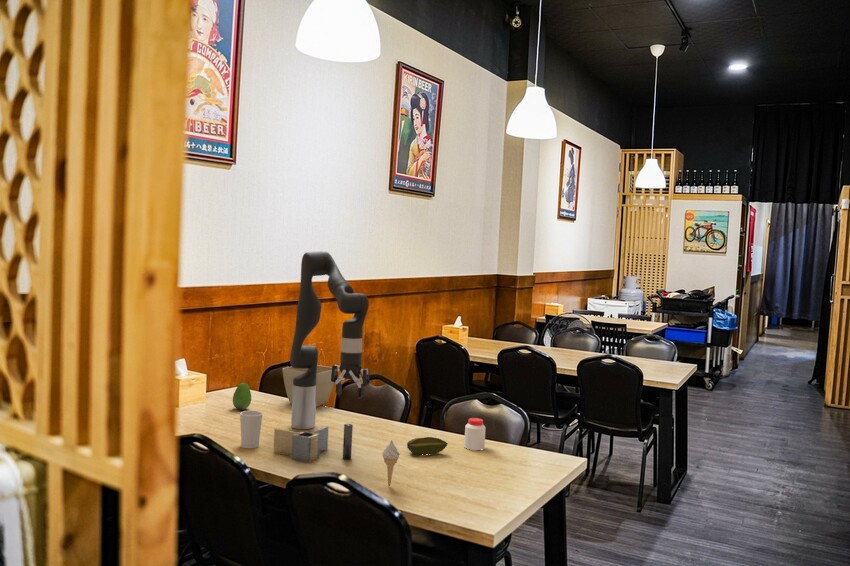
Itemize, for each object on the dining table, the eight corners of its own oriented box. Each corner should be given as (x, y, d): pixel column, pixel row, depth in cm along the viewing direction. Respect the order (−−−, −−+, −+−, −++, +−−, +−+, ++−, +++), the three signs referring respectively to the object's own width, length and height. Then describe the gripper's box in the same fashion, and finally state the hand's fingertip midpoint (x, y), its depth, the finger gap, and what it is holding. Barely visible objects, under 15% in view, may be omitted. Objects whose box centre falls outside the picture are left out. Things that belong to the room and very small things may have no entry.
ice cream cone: (380, 483, 223) (382, 436, 223) (397, 483, 224) (400, 437, 223) (380, 489, 218) (383, 441, 217) (398, 489, 218) (401, 442, 217)
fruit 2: (422, 447, 265) (423, 430, 265) (448, 454, 258) (449, 437, 258) (403, 454, 256) (404, 436, 256) (430, 461, 249) (431, 443, 249)
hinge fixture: (296, 443, 263) (297, 420, 262) (334, 450, 256) (335, 427, 255) (268, 454, 248) (269, 430, 247) (307, 462, 240) (308, 438, 240)
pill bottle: (487, 447, 270) (488, 419, 270) (480, 452, 263) (481, 423, 263) (468, 444, 274) (470, 416, 273) (461, 448, 267) (462, 420, 266)
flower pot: (337, 403, 332) (338, 367, 331) (314, 410, 314) (316, 373, 313) (303, 397, 339) (304, 363, 338) (279, 404, 322) (281, 368, 321)
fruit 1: (233, 407, 313) (234, 380, 312) (252, 407, 314) (253, 381, 313) (230, 411, 305) (231, 384, 304) (249, 411, 306) (250, 384, 305)
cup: (255, 449, 252) (256, 416, 251) (234, 447, 253) (236, 414, 253) (264, 443, 259) (266, 411, 259) (244, 441, 261) (246, 409, 260)
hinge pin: (345, 456, 249) (347, 423, 248) (352, 458, 248) (354, 424, 247) (340, 458, 246) (342, 425, 246) (348, 460, 245) (349, 426, 245)
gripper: (374, 351, 245) (372, 397, 246) (339, 347, 251) (337, 391, 252) (363, 353, 239) (361, 401, 239) (328, 349, 245) (326, 395, 246)
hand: (349, 396), depth 246 cm, fingers open, 8 cm apart
